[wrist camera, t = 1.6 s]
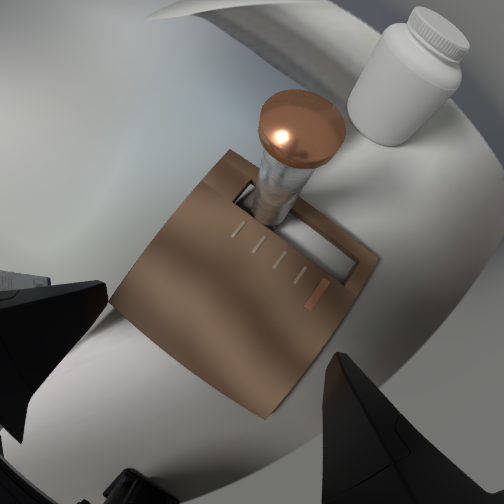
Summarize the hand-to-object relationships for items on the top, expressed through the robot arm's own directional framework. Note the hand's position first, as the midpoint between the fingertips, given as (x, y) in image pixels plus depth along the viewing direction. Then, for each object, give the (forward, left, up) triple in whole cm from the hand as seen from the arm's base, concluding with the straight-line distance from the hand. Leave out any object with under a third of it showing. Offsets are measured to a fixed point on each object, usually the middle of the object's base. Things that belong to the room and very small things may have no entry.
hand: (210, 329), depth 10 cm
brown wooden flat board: (+3, 0, -13) cm, 13 cm away
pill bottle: (+26, -1, -13) cm, 29 cm away
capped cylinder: (+9, +2, -13) cm, 15 cm away
